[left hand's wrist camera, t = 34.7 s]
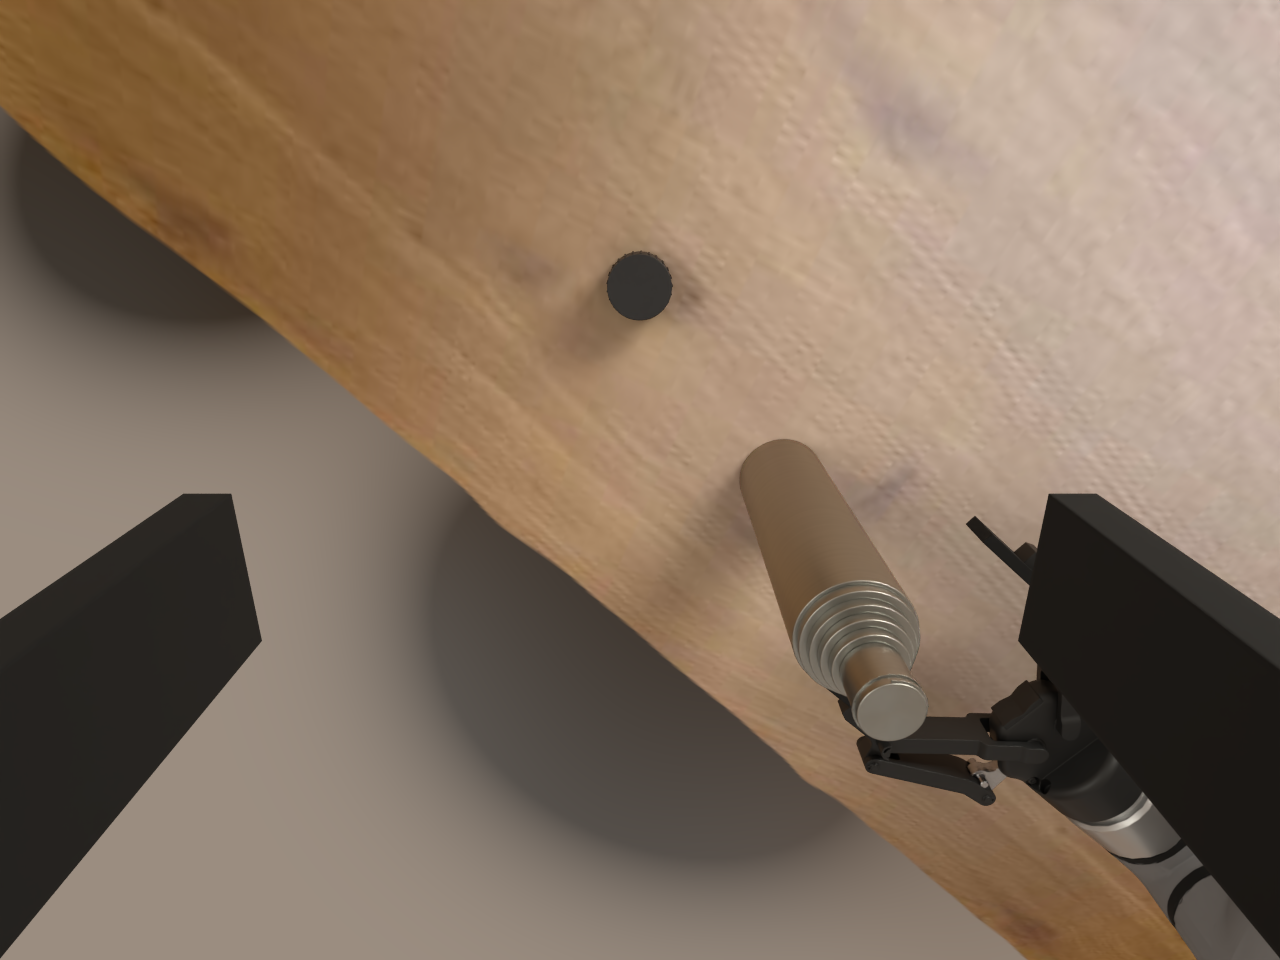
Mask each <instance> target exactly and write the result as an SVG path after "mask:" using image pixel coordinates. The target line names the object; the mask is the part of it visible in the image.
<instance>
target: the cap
mask: <svg viewBox="0 0 1280 960" xmlns="http://www.w3.org/2000/svg"><path fill="white" fill-rule="evenodd" d="M668 271H669V270H668V267H666V266H665V264H664V262H663V260H662V261H661V260H660V259H659V258H658V257H657V256H654V255H653V254H650V252H648V253H647V252H642V251H640V252H634V251H632V253H629V254H627V255H626V254H625V255H624V256H623V257H621V258H620V259H618V261H617V262H616V263H615V265H613V266H612V270H611V272H609V275H608V276H609V278H608V280H607V292H608V296H609V300H610V302H611V304H612V305H613V307H614V308H615V309H616V310H617V311H618V312H619V313H620V314H621V315H623V316H625V317H627V318H629V319H633V320H647V319H650V318H652V317H655V316H656V315H658V314H659V313H660V312H661V311H662V310H664V308H665V307H666V305H667V304H668V303H669V299H670V297H671V295H672V293H671V292H672V287H673V285H672V283H671V279H672V278H671V275H669V272H668Z"/></svg>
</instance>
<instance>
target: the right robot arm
mask: <svg viewBox="0 0 1280 960" xmlns="http://www.w3.org/2000/svg"><path fill="white" fill-rule="evenodd" d="M966 525H967V526H968V527H969V528H970V529H971V530H972V531H973V532H974V533H975V534H976V536H977V537H978V538H979V539H980V540H981V541H982V542H983V543H984V544H985V545H986V546H987V547H988V548H989V549H991V550H992V551H993V552H994V553H995V554H996V555H997V556H998V557H999V558H1000V559H1001V560H1002V561H1004V562H1005V563H1006V564H1007V565H1008V566H1009V567H1010V568H1011V569H1012V570H1013V571H1014V572H1015V573H1017V574H1018V575H1019V576H1020V577H1021V578H1022V579H1023V580H1024V581H1025V582H1026V583H1027V584H1028V585H1030V582H1031V577H1032V572H1033V567H1034V562H1035V558H1036V553H1037V548H1036V547H1035V546H1034V545H1032V544H1029V543H1026V542H1025V543H1024V544H1023V545H1022V546H1021V547H1020V548H1018V549H1017V550H1016V551H1015V552H1013V551H1012V550H1011V549H1010V548H1009V547H1008V546H1007V545H1006V544H1005V543H1003V542H1002V541H1001V540H1000V539H999V538H998V537H997V536H996V535H995V534H994V533H993V532H992V531H991V530H990V529H988V528H987V527H986V526H985V525H984V524H983V523H982V522H981V521H980V520H979V519H978V518H977V517H976V516H974V517H973V518H972V519H971V520H970V521H969V522H968V523H966ZM826 689H827V688H826ZM828 690H829V689H828ZM829 691H830V692H831V693H833V694H834V695H835V696H836V697H838V698H839V700H838V703H839V706H840V709H841V711H842V714H843V716H844V718H845V720H846V721H848V722H849V723H850V724H852V725H853V726H854V727H856V729H858V730H859V731H860V732H861V733H863V734H864V735H865V736H863V737H860V738H859V739H858V740H857V743H856V744H857V747H858V750H859V752H860V755H861V758H862V761H863V763H864V766H865V769H866V770H867V771H868V772H869V773H873V774H877V775H882V776H886V777H890V778H895V779H899V780H904V781H908V782H913V783H917V784H922V785H926V786H931V787H935V788H940V789H944V790H949V791H953V792H958V793H962V794H965V795H966V796H968V797H970V798H971V799H973V800H974V801H976V802H978V803H979V804H981V805H984V806H988V805H991V804H993V803H994V802H995V800H996V797H995V794H994V793H993V791H992V790H993V789H994V788H995V787H996V786H997V785H998V784H999V783H1000V782H1001V781H1002V780H1004V779H1005V778H1006V777H1010V778H1016V779H1019V780H1022V781H1023V782H1025V783H1026V784H1027V785H1028V786H1029V787H1030V788H1032V789H1033V790H1034V791H1035V792H1036V793H1038V794H1039V795H1040V796H1041V797H1042V798H1044V799H1045V800H1046V801H1047V802H1048V803H1050V804H1051V805H1052V806H1053V807H1054V808H1056V809H1057V810H1058V811H1059V812H1061V813H1062V814H1063V815H1065V816H1066V817H1067V818H1068V819H1069V820H1070V821H1071V822H1072V823H1073V824H1075V825H1076V826H1077V827H1078V828H1080V829H1081V830H1082V831H1083V832H1085V833H1086V834H1087V835H1089V836H1090V837H1091V838H1092V839H1094V840H1095V841H1096V842H1097V843H1099V844H1100V845H1101V846H1102V847H1104V848H1105V849H1106V850H1107V851H1108V852H1109V853H1111V854H1112V855H1113V856H1114V857H1116V858H1117V859H1118V860H1119V861H1120V862H1121V863H1122V864H1124V865H1125V866H1126V867H1127V868H1128V869H1129V870H1130V871H1132V872H1133V873H1134V874H1135V875H1136V876H1137V877H1138V879H1139V880H1140V881H1141V882H1142V883H1143V884H1144V886H1145V887H1146V888H1147V890H1148V891H1149V893H1150V894H1151V896H1152V897H1153V898H1154V900H1155V901H1156V903H1157V904H1158V905H1159V907H1160V908H1161V910H1162V911H1163V913H1164V914H1165V915H1166V917H1167V918H1168V920H1169V921H1170V922H1171V924H1172V925H1173V926H1174V927H1175V928H1176V930H1177V931H1178V933H1179V934H1180V936H1181V937H1182V939H1183V940H1184V941H1185V943H1186V944H1187V946H1188V947H1189V949H1190V950H1191V951H1192V953H1193V954H1194V956H1195V957H1196V959H1197V960H1280V958H1279V957H1278V956H1277V954H1276V953H1275V952H1274V951H1273V950H1272V948H1271V947H1270V946H1269V945H1268V943H1267V942H1266V941H1265V940H1264V939H1263V937H1262V936H1261V935H1260V934H1259V933H1258V931H1257V930H1256V929H1255V928H1254V926H1253V925H1252V924H1251V923H1250V922H1249V920H1248V919H1247V918H1246V917H1245V916H1244V914H1243V913H1242V912H1241V911H1240V909H1239V908H1238V907H1237V906H1236V905H1235V903H1234V902H1233V901H1232V900H1231V899H1230V897H1229V896H1228V895H1227V894H1226V892H1225V891H1224V890H1223V889H1222V888H1221V886H1220V885H1219V884H1218V883H1217V882H1216V880H1215V879H1214V878H1213V877H1212V875H1211V874H1210V873H1209V872H1208V871H1207V869H1206V868H1205V867H1204V866H1203V865H1202V863H1201V862H1200V861H1199V860H1198V858H1197V857H1196V856H1195V855H1194V854H1193V852H1192V851H1191V850H1190V849H1189V848H1188V846H1187V845H1186V844H1185V843H1184V842H1183V840H1182V839H1181V838H1180V837H1179V835H1178V834H1177V833H1176V832H1175V831H1174V829H1173V828H1172V827H1171V826H1170V825H1169V823H1168V822H1167V821H1166V820H1165V818H1164V817H1163V816H1162V815H1161V814H1160V812H1159V811H1158V810H1157V809H1156V808H1155V806H1154V805H1153V804H1152V803H1151V801H1150V800H1149V799H1148V798H1147V797H1146V795H1145V794H1144V793H1143V792H1142V791H1141V789H1140V788H1139V787H1138V786H1137V784H1136V783H1135V782H1134V781H1133V780H1132V778H1131V777H1130V776H1129V775H1128V774H1127V772H1126V771H1125V770H1124V769H1123V767H1122V766H1121V765H1120V764H1119V763H1118V761H1117V760H1116V759H1115V758H1114V757H1113V755H1112V754H1111V753H1110V752H1109V750H1108V749H1107V748H1106V747H1105V746H1104V744H1103V743H1102V742H1101V741H1100V740H1099V738H1098V737H1097V736H1096V735H1095V733H1094V732H1093V731H1092V730H1091V729H1090V727H1089V726H1088V725H1087V724H1086V723H1085V721H1084V720H1083V719H1082V718H1081V717H1080V715H1079V714H1078V713H1077V712H1076V710H1075V709H1074V708H1073V707H1072V706H1071V704H1070V703H1069V702H1068V701H1067V700H1066V698H1065V697H1064V696H1063V695H1062V693H1061V692H1060V691H1059V690H1058V689H1057V687H1056V686H1055V685H1054V684H1053V683H1052V681H1051V680H1050V679H1049V678H1048V676H1047V675H1046V674H1045V673H1044V672H1043V670H1042V669H1041V668H1040V667H1039V666H1038V664H1037V680H1035V681H1031V682H1028V681H1027V680H1026V681H1024V682H1023V683H1022V684H1021V685H1019V686H1018V687H1017V688H1016V689H1015V691H1014V692H1013V693H1012V694H1011V695H1010V696H1009V697H1007V698H1005V699H1003V700H1001V701H999V702H998V703H996V704H995V705H994V706H993V707H991V709H992V710H993V712H992V713H991V714H987V713H969V714H967V716H966V717H964V718H963V717H926V718H925V720H924V722H923V724H922V725H921V726H920V728H919V729H918V730H917V731H915V732H914V733H913V734H911V735H910V736H908V737H906V738H903V739H900V740H895V741H881V740H877V739H874V738H872V737H870V736H868V735H867V734H866V733H864V732H863V731H862V729H860V728H859V727H858V726H857V724H856V722H855V720H854V719H853V716H852V710H851V705H850V702H849V700H848V697H847V696H844V695H842V694H839V693H836V692H834V691H832V690H829ZM987 732H990V737H989V735H988V733H987ZM949 754H958V755H977V756H979V757H980V758H982V759H984V760H992V761H991V762H988V763H981V762H976V760H975V759H974V758H970V759H968V761H965V760H964V759H961V758H959V757H956V756H953V755H949Z"/></svg>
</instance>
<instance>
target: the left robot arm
mask: <svg viewBox="0 0 1280 960" xmlns="http://www.w3.org/2000/svg"><path fill="white" fill-rule="evenodd" d="M261 641H262V639H261V634H260V630H259V625H258V620H257V615H256V611H255V606H254V601H253V596H252V591H251V586H250V582H249V577H248V572H247V567H246V562H245V558H244V553H243V548H242V543H241V538H240V534H239V529H238V524H237V519H236V514H235V510H234V505H233V500H232V495H231V494H182V495H181V496H180V497H178V498H177V499H175V500H174V501H172V502H171V503H169V504H168V505H166V506H165V507H163V508H162V509H160V510H159V511H158V512H156V513H155V514H153V515H152V516H150V517H149V518H147V519H146V520H144V521H143V522H141V523H140V524H139V525H137V526H136V527H134V528H133V529H131V530H130V531H128V532H127V533H125V534H124V535H122V536H121V537H120V538H118V539H117V540H115V541H114V542H112V543H111V544H109V545H108V546H106V547H105V548H103V549H102V550H100V551H99V552H98V553H96V554H95V555H93V556H92V557H90V558H89V559H87V560H86V561H84V562H83V563H82V564H80V565H79V566H77V567H76V568H74V569H73V570H71V571H70V572H68V573H67V574H65V575H64V576H62V577H61V578H60V579H58V580H57V581H55V582H54V583H52V584H51V585H49V586H48V587H46V588H45V589H43V590H42V591H41V592H39V593H38V594H36V595H35V596H33V597H32V598H30V599H29V600H27V601H26V602H24V603H23V604H21V605H20V606H18V607H17V608H16V609H14V610H13V611H11V612H10V613H8V614H7V615H5V616H4V617H2V618H1V619H0V958H1V957H2V956H3V954H4V953H5V952H6V951H7V950H8V948H9V947H10V946H11V945H12V943H13V942H14V941H15V940H16V939H17V937H18V936H19V935H20V934H21V932H22V931H23V930H24V929H25V928H26V926H27V925H28V924H29V923H30V922H31V920H32V919H33V918H34V917H35V916H36V914H37V913H38V912H39V911H40V909H41V908H42V907H43V906H44V905H45V903H46V902H47V901H48V900H49V899H50V897H51V896H52V895H53V894H54V892H55V891H56V890H57V889H58V888H59V886H60V885H61V884H62V883H63V881H64V880H65V879H66V878H67V877H68V875H69V874H70V873H71V872H72V871H73V869H74V868H75V867H76V866H77V865H78V863H79V862H80V861H81V860H82V858H83V857H84V856H85V855H86V854H87V852H88V851H89V850H90V849H91V848H92V846H93V845H94V844H95V843H96V841H97V840H98V839H99V838H100V837H101V835H102V834H103V833H104V832H105V830H106V829H107V828H108V827H109V826H110V824H111V823H112V822H113V821H114V820H115V818H116V817H117V816H118V815H119V814H120V812H121V811H122V810H123V809H124V808H125V806H126V805H127V804H128V803H129V801H130V800H131V799H132V798H133V797H134V795H135V794H136V793H137V792H138V790H139V789H140V788H141V787H142V786H143V784H144V783H145V782H146V781H147V780H148V778H149V777H150V776H151V775H152V774H153V772H154V771H155V770H156V769H157V767H158V766H159V765H160V764H161V763H162V761H163V760H164V759H165V758H166V757H167V755H168V754H169V753H170V752H171V750H172V749H173V748H174V747H175V746H176V744H177V743H178V742H179V741H180V739H181V738H182V737H183V736H184V735H185V733H186V732H187V731H188V730H189V729H190V727H191V726H192V725H193V724H194V723H195V721H196V720H197V719H198V718H199V717H200V715H201V714H202V713H203V712H204V710H205V709H206V708H207V707H208V706H209V704H210V703H211V702H212V701H213V699H214V698H215V697H216V696H217V695H218V693H219V692H220V691H221V690H222V689H223V687H224V686H225V685H226V684H227V682H228V681H229V680H230V679H231V678H232V676H233V675H234V674H235V673H236V672H237V670H238V669H239V668H240V667H241V665H242V664H243V663H244V662H245V661H246V659H247V658H248V657H249V656H250V655H251V653H252V652H253V651H254V650H255V649H256V647H257V646H258V645H259V644H260V642H261ZM1018 641H1019V642H1020V644H1021V645H1022V646H1023V647H1024V649H1025V650H1026V651H1027V652H1028V653H1029V655H1030V656H1031V657H1032V658H1033V659H1034V661H1035V662H1036V663H1037V664H1038V666H1039V667H1040V668H1041V669H1042V670H1043V672H1044V673H1045V674H1046V675H1047V676H1048V678H1049V679H1050V680H1051V681H1052V683H1053V684H1054V685H1055V686H1056V687H1057V689H1058V690H1059V691H1060V692H1061V693H1062V695H1063V696H1064V697H1065V698H1066V700H1067V701H1068V702H1069V703H1070V704H1071V706H1072V707H1073V708H1074V709H1075V710H1076V712H1077V713H1078V714H1079V715H1080V717H1081V718H1082V719H1083V720H1084V721H1085V723H1086V724H1087V725H1088V726H1089V727H1090V729H1091V730H1092V731H1093V732H1094V733H1095V735H1096V736H1097V737H1098V738H1099V740H1100V741H1101V742H1102V743H1103V744H1104V746H1105V747H1106V748H1107V749H1108V750H1109V752H1110V753H1111V754H1112V755H1113V757H1114V758H1115V759H1116V760H1117V761H1118V763H1119V764H1120V765H1121V766H1122V767H1123V769H1124V770H1125V771H1126V772H1127V774H1128V775H1129V776H1130V777H1131V778H1132V780H1133V781H1134V782H1135V783H1136V784H1137V786H1138V787H1139V788H1140V789H1141V791H1142V792H1143V793H1144V794H1145V795H1146V797H1147V798H1148V799H1149V800H1150V801H1151V803H1152V804H1153V805H1154V806H1155V808H1156V809H1157V810H1158V811H1159V812H1160V814H1161V815H1162V816H1163V817H1164V818H1165V820H1166V821H1167V822H1168V823H1169V825H1170V826H1171V827H1172V828H1173V829H1174V831H1175V832H1176V833H1177V834H1178V835H1179V837H1180V838H1181V839H1182V840H1183V842H1184V843H1185V844H1186V845H1187V846H1188V848H1189V849H1190V850H1191V851H1192V852H1193V854H1194V855H1195V856H1196V857H1197V858H1198V860H1199V861H1200V862H1201V863H1202V865H1203V866H1204V867H1205V868H1206V869H1207V871H1208V872H1209V873H1210V874H1211V875H1212V877H1213V878H1214V879H1215V880H1216V882H1217V883H1218V884H1219V885H1220V886H1221V888H1222V889H1223V890H1224V891H1225V892H1226V894H1227V895H1228V896H1229V897H1230V899H1231V900H1232V901H1233V902H1234V903H1235V905H1236V906H1237V907H1238V908H1239V909H1240V911H1241V912H1242V913H1243V914H1244V916H1245V917H1246V918H1247V919H1248V920H1249V922H1250V923H1251V924H1252V925H1253V926H1254V928H1255V929H1256V930H1257V931H1258V933H1259V934H1260V935H1261V936H1262V937H1263V939H1264V940H1265V941H1266V942H1267V943H1268V945H1269V946H1270V947H1271V948H1272V950H1273V951H1274V952H1275V953H1276V954H1277V956H1278V957H1279V958H1280V619H1279V618H1278V617H1276V616H1275V615H1273V614H1272V613H1270V612H1269V611H1267V610H1266V609H1264V608H1263V607H1262V606H1260V605H1259V604H1257V603H1256V602H1254V601H1253V600H1251V599H1250V598H1248V597H1247V596H1245V595H1244V594H1242V593H1241V592H1240V591H1238V590H1237V589H1235V588H1234V587H1232V586H1231V585H1229V584H1228V583H1226V582H1225V581H1223V580H1222V579H1221V578H1219V577H1218V576H1216V575H1215V574H1213V573H1212V572H1210V571H1209V570H1207V569H1206V568H1204V567H1203V566H1201V565H1200V564H1199V563H1197V562H1196V561H1194V560H1193V559H1191V558H1190V557H1188V556H1187V555H1185V554H1184V553H1182V552H1181V551H1180V550H1178V549H1177V548H1175V547H1174V546H1172V545H1171V544H1169V543H1168V542H1166V541H1165V540H1163V539H1162V538H1160V537H1159V536H1158V535H1156V534H1155V533H1153V532H1152V531H1150V530H1149V529H1147V528H1146V527H1144V526H1143V525H1141V524H1140V523H1139V522H1137V521H1136V520H1134V519H1133V518H1131V517H1130V516H1128V515H1127V514H1125V513H1124V512H1122V511H1121V510H1120V509H1118V508H1117V507H1115V506H1114V505H1112V504H1111V503H1109V502H1108V501H1106V500H1105V499H1103V498H1102V497H1100V496H1099V495H1098V494H1049V495H1048V500H1047V505H1046V510H1045V514H1044V519H1043V524H1042V529H1041V534H1040V538H1039V543H1038V548H1037V553H1036V558H1035V562H1034V567H1033V572H1032V577H1031V582H1030V586H1029V591H1028V596H1027V601H1026V606H1025V610H1024V615H1023V620H1022V625H1021V630H1020V634H1019V639H1018Z"/></svg>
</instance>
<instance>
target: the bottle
mask: <svg viewBox="0 0 1280 960" xmlns="http://www.w3.org/2000/svg"><path fill="white" fill-rule="evenodd" d="M740 489H741V492H742V495H743V498H744V501H745V504H746V507H747V511H748V514H749V517H750V520H751V523H752V526H753V529H754V532H755V535H756V538H757V541H758V544H759V547H760V550H761V553H762V556H763V559H764V562H765V566H766V569H767V572H768V575H769V578H770V581H771V584H772V587H773V590H774V593H775V596H776V599H777V602H778V605H779V608H780V611H781V614H782V618H783V621H784V624H785V627H786V630H787V633H788V636H789V639H790V642H791V645H792V648H793V651H794V654H795V657H796V659H797V661H798V663H799V664H800V666H801V667H802V668H803V670H804V671H805V672H806V673H807V674H808V675H809V676H810V677H811V678H812V679H813V680H814V681H815V682H817V683H818V684H820V685H821V686H823V687H825V688H827V689H829V690H832V691H834V692H836V693H839V694H842V695H844V696H847V697H848V700H849V702H850V705H851V710H852V716H853V719H854V720H855V722H856V724H857V726H858V727H859V728H860V729H862V731H863V732H864V733H866V734H867V735H868V736H870V737H872V738H874V739H877V740H881V741H895V740H900V739H903V738H906V737H908V736H910V735H911V734H913V733H914V732H915V731H917V730H918V729H919V728H920V726H921V725H922V724H923V722H924V720H925V718H926V715H927V711H928V707H929V706H928V699H927V697H926V695H925V693H924V691H923V690H922V688H921V686H920V684H919V683H918V682H917V681H916V680H915V679H914V678H913V676H912V674H911V672H910V671H911V668H912V665H913V663H914V661H915V658H916V655H917V652H918V649H919V645H920V629H919V621H918V616H917V613H916V611H915V609H914V607H913V605H912V603H911V602H910V600H909V599H908V597H907V596H906V594H905V593H904V591H903V589H902V588H901V586H900V585H899V583H898V582H897V580H896V579H895V577H894V575H893V574H892V572H891V571H890V569H889V568H888V566H887V565H886V563H885V562H884V560H883V558H882V557H881V555H880V554H879V552H878V551H877V549H876V548H875V546H874V544H873V543H872V541H871V540H870V538H869V537H868V535H867V534H866V532H865V530H864V529H863V527H862V526H861V524H860V523H859V521H858V520H857V518H856V516H855V515H854V513H853V512H852V510H851V509H850V507H849V506H848V504H847V503H846V501H845V499H844V498H843V496H842V495H841V493H840V492H839V490H838V489H837V487H836V485H835V484H834V482H833V481H832V479H831V478H830V476H829V475H828V473H827V471H826V470H825V468H824V467H823V465H822V464H821V462H820V461H819V459H818V457H817V456H816V455H815V453H814V452H813V451H812V450H811V449H810V448H808V447H807V446H806V445H804V444H802V443H800V442H797V441H793V440H785V439H783V440H774V441H771V442H767V443H765V444H763V445H761V446H760V447H758V448H757V449H755V450H754V451H753V452H752V453H751V454H750V455H749V456H748V458H747V459H746V460H745V462H744V464H743V466H742V469H741V472H740Z"/></svg>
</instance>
